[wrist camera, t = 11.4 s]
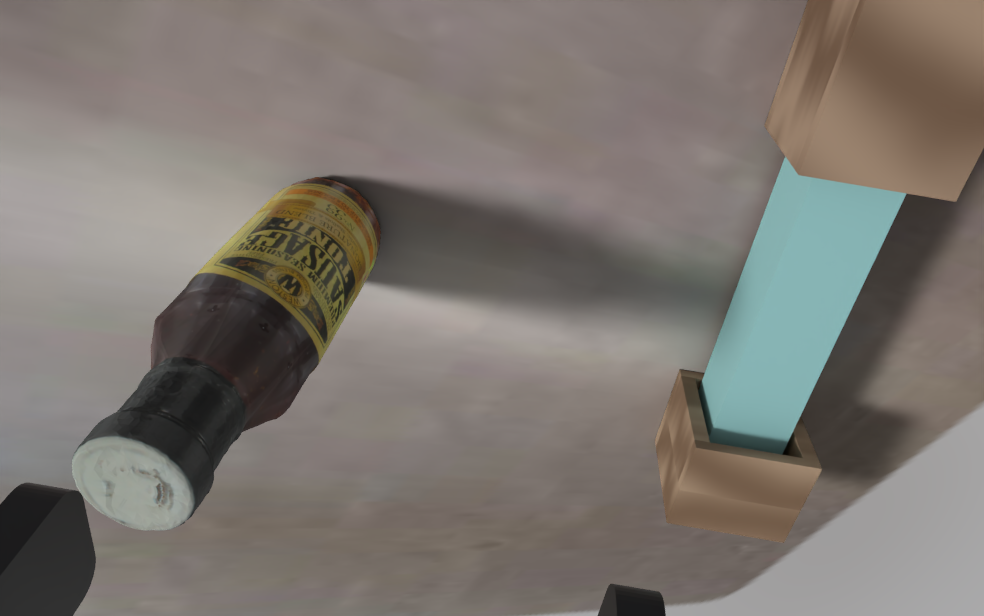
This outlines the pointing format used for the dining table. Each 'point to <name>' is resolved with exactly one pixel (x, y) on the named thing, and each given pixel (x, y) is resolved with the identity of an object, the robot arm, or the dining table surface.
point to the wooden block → (885, 94)
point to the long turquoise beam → (791, 306)
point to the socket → (729, 473)
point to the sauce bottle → (231, 353)
